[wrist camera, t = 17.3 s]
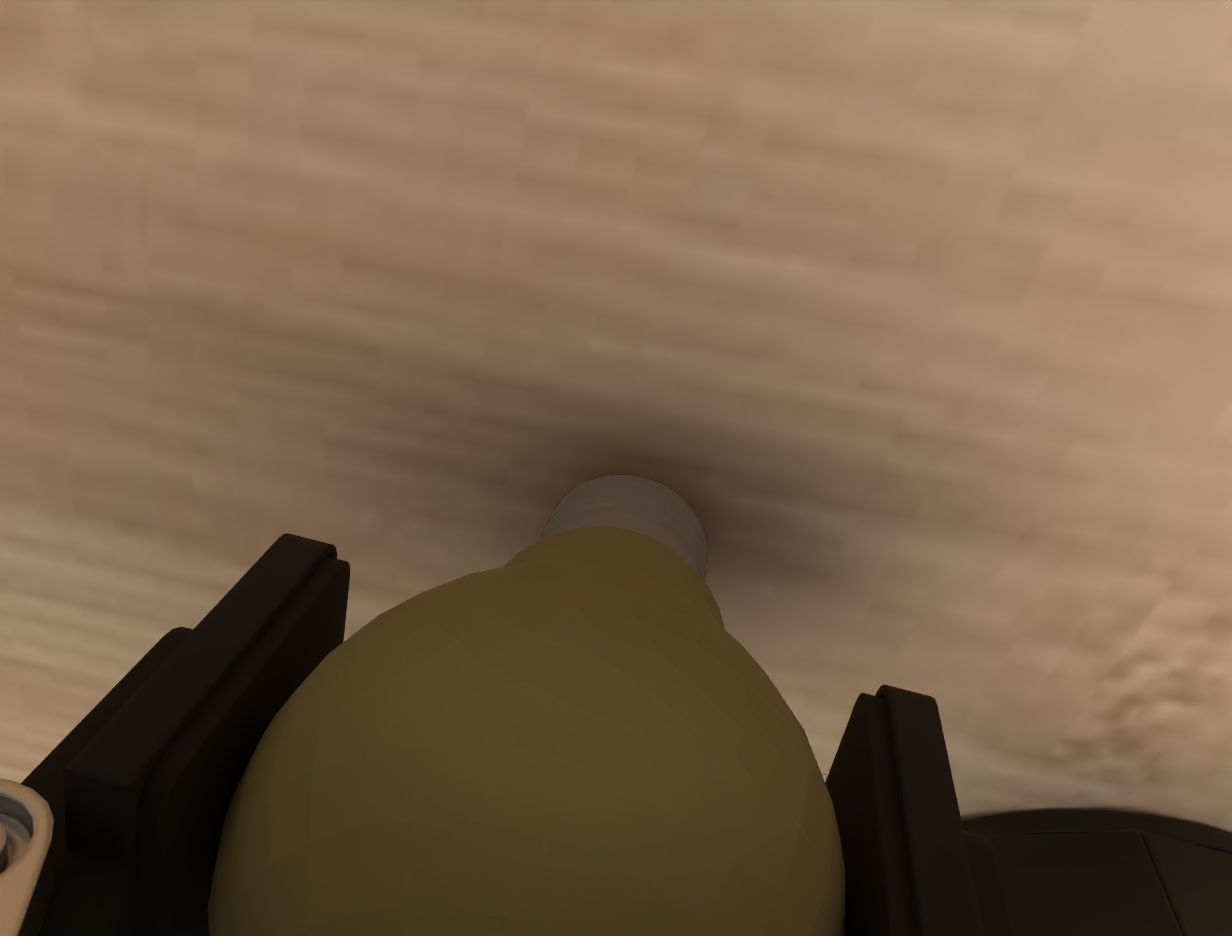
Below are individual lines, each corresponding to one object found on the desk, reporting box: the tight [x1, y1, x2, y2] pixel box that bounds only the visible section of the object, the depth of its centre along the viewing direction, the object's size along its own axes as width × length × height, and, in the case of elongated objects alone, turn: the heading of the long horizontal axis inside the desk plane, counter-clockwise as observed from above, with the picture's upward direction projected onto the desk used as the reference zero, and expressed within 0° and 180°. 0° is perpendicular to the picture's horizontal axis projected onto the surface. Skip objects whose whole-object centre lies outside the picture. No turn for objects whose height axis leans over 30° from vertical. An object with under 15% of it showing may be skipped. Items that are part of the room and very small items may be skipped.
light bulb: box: [208, 475, 845, 936], centre depth 12 cm, size 6×6×10 cm
